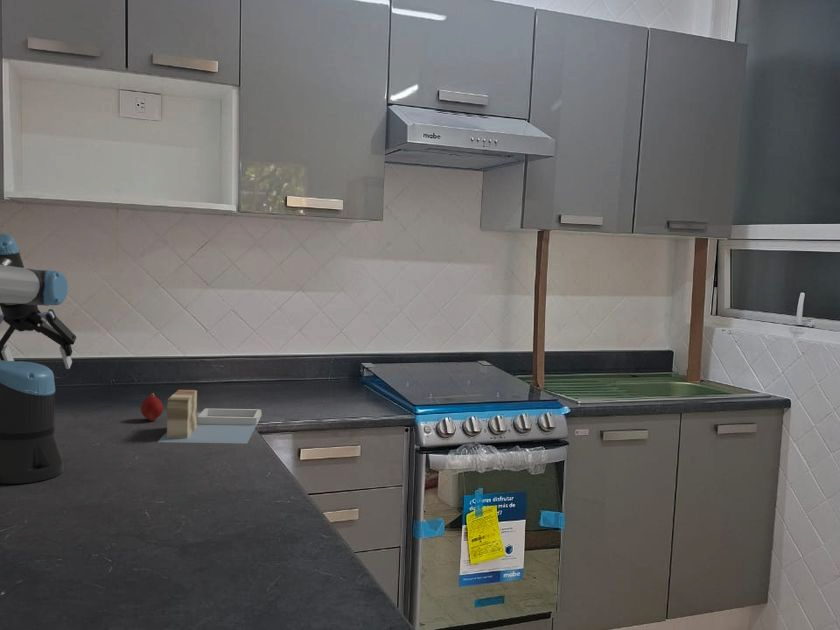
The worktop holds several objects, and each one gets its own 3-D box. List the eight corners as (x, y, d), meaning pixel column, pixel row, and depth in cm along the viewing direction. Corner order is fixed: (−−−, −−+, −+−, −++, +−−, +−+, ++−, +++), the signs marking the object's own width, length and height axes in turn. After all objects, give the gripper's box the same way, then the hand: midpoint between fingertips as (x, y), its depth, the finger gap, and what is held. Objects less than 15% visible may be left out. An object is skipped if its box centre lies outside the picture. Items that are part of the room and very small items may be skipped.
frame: (256, 425, 210) (256, 418, 210) (197, 424, 208) (197, 417, 208) (261, 416, 221) (261, 409, 221) (204, 415, 219) (204, 408, 219)
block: (187, 438, 193) (187, 398, 192) (167, 438, 192) (167, 398, 192) (196, 427, 205) (197, 389, 204) (177, 426, 204) (178, 389, 203)
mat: (247, 444, 190) (247, 443, 190) (157, 443, 188) (157, 442, 188) (262, 414, 224) (262, 413, 224) (186, 413, 222) (186, 412, 222)
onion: (136, 421, 209) (136, 393, 209) (152, 418, 214) (152, 390, 214) (151, 424, 207) (151, 395, 206) (167, 421, 212) (167, 392, 211)
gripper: (75, 285, 182) (96, 354, 194) (-35, 290, 179) (-7, 361, 192) (66, 302, 176) (89, 373, 188) (-47, 308, 173) (-17, 380, 185)
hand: (41, 367), depth 190 cm, fingers open, 13 cm apart
